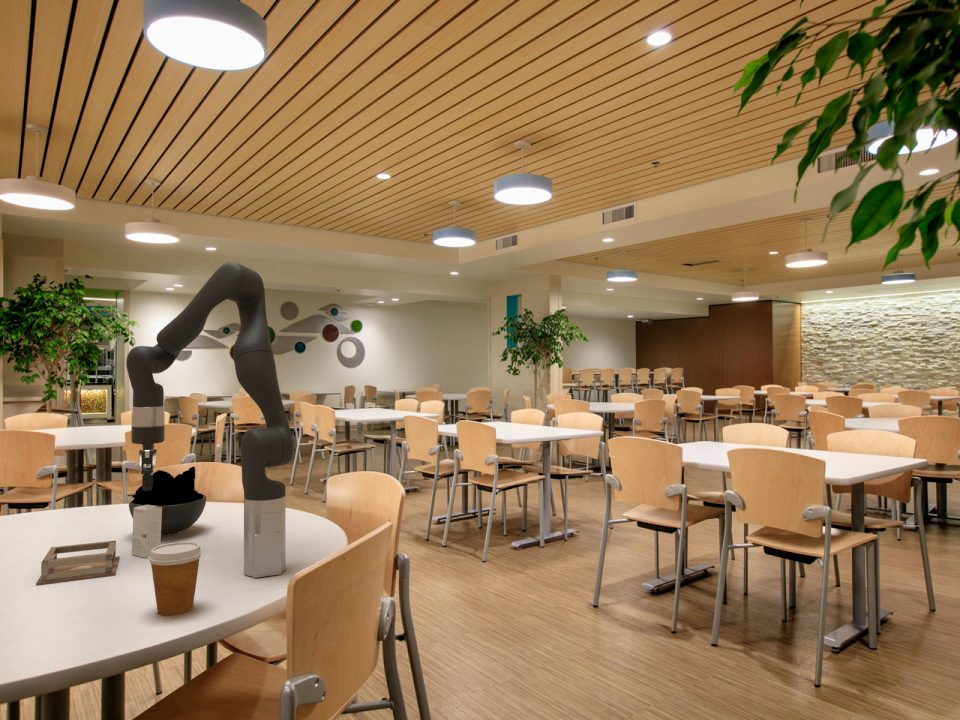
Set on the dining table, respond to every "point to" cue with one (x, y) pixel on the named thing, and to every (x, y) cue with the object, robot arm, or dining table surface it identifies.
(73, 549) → the shallow wooden tray
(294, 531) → the dining table surface
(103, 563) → the walnut board
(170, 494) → the bowl of black rocks
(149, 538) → the skincare box
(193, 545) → the disposable coffee cup
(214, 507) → the dining table surface
